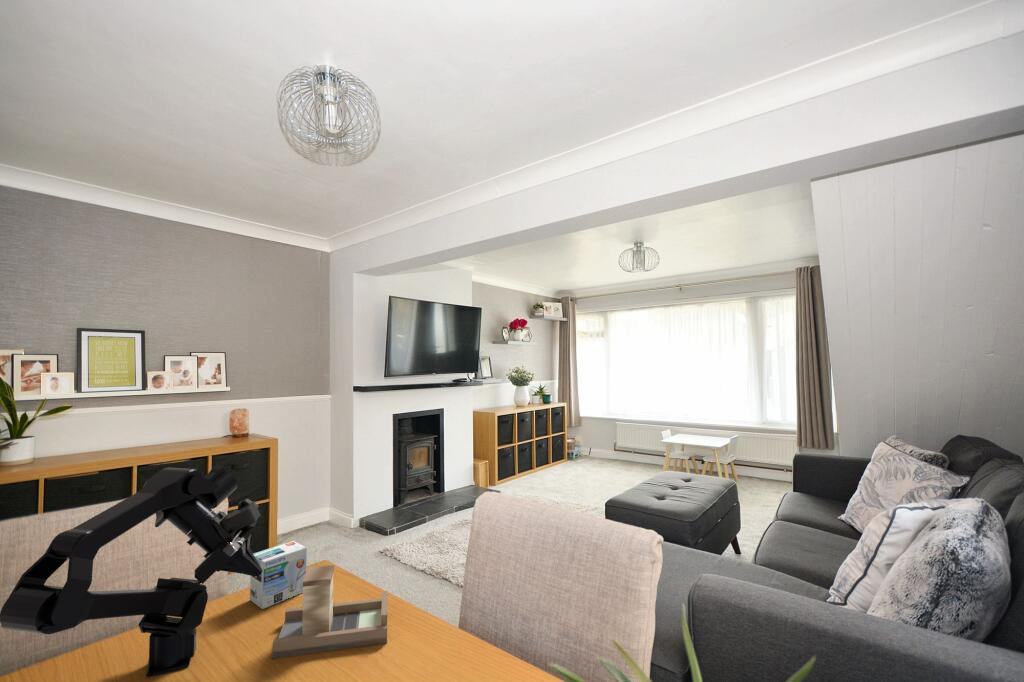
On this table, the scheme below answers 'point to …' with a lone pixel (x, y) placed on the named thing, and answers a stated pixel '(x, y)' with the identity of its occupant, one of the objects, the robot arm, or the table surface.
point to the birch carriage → (317, 600)
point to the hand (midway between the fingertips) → (260, 574)
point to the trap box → (335, 629)
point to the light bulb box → (279, 574)
